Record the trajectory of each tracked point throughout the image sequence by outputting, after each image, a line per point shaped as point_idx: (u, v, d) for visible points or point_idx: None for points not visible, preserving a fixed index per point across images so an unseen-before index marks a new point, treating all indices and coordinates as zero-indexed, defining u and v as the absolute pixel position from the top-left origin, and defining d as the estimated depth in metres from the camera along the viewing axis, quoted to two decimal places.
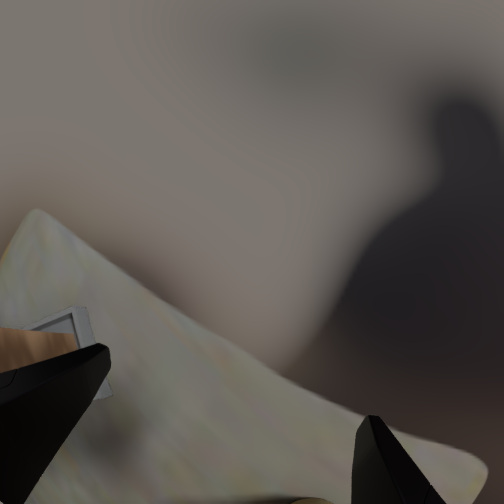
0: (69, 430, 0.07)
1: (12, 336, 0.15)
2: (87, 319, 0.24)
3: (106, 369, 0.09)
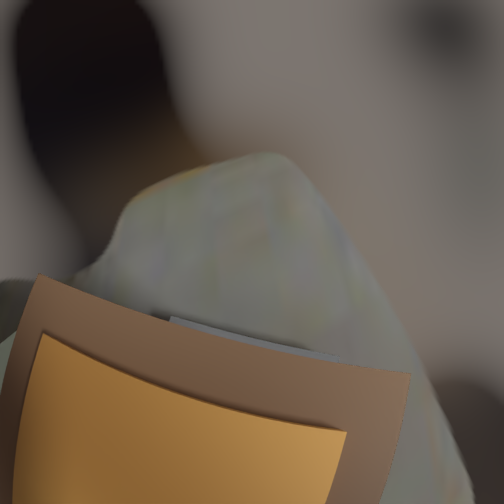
0: None
1: None
2: None
3: None
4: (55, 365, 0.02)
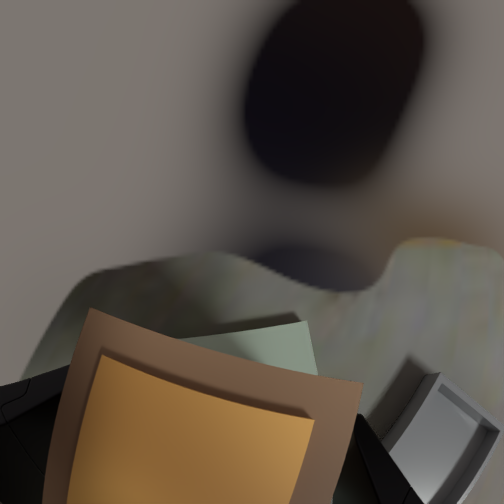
0: None
1: None
2: None
3: None
4: (114, 377, 0.04)
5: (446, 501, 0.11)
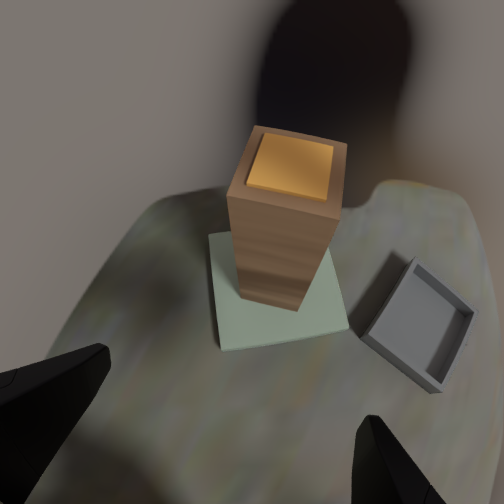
0: (69, 431, 0.07)
1: None
2: None
3: (106, 369, 0.09)
4: (270, 136, 0.13)
5: (441, 370, 0.20)
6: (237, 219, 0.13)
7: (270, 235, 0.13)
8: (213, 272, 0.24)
